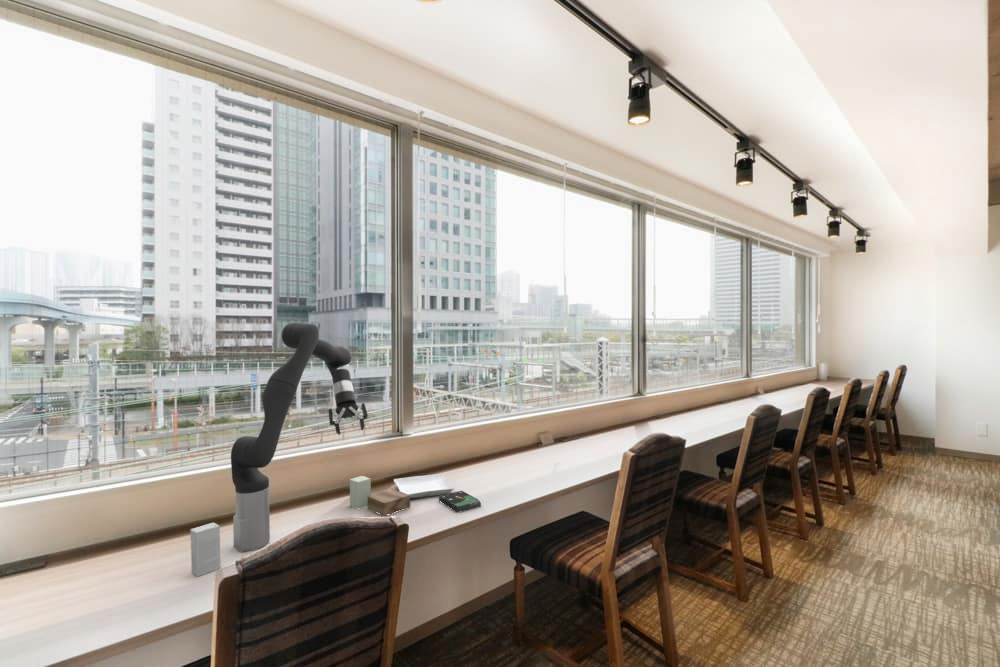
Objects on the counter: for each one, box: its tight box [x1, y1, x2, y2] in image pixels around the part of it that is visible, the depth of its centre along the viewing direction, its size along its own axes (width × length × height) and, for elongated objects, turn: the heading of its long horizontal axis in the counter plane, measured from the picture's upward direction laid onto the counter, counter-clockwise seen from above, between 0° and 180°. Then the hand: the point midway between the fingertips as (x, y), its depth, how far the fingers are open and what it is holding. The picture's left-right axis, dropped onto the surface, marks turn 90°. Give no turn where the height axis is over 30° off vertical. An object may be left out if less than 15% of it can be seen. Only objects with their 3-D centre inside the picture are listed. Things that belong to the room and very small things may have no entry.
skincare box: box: [190, 522, 222, 577], centre depth 130 cm, size 6×4×12 cm
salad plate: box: [393, 473, 455, 499], centre depth 194 cm, size 21×21×3 cm
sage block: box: [349, 475, 372, 510], centre depth 178 cm, size 6×6×10 cm
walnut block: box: [367, 488, 411, 517], centre depth 174 cm, size 11×11×5 cm
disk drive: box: [438, 490, 482, 513], centre depth 178 cm, size 10×3×15 cm
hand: (351, 431), depth 182 cm, fingers open, 8 cm apart
